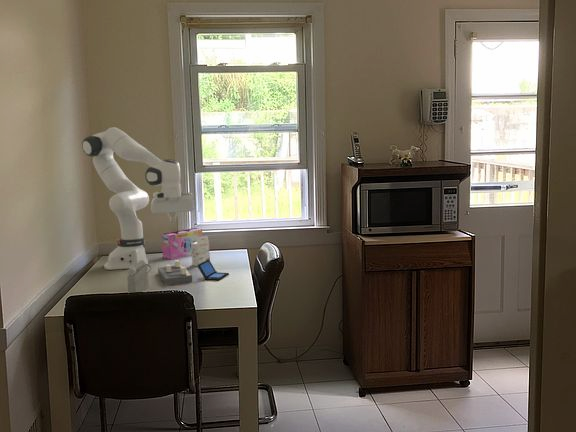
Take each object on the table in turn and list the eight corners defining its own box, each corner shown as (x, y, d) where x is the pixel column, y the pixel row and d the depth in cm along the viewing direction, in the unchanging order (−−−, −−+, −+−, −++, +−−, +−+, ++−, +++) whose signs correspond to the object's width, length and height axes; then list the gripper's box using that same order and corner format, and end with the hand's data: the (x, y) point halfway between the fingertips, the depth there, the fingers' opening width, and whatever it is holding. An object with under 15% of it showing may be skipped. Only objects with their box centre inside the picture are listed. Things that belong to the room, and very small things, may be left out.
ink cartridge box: (203, 262, 313) (202, 234, 311) (210, 263, 310) (208, 235, 308) (191, 265, 306) (190, 237, 304) (198, 266, 303) (196, 238, 301)
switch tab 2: (176, 267, 288) (175, 261, 288) (174, 266, 291) (174, 260, 290) (180, 267, 289) (179, 261, 288) (179, 265, 292) (178, 259, 291)
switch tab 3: (182, 274, 273) (181, 268, 273) (180, 273, 276) (180, 267, 276) (186, 274, 274) (185, 267, 273) (185, 272, 277) (184, 266, 276)
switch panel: (166, 285, 269) (165, 278, 268) (158, 273, 291) (157, 267, 290) (192, 281, 273) (191, 275, 272) (182, 270, 295) (182, 264, 295)
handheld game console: (218, 281, 273) (217, 266, 271) (197, 280, 276) (196, 265, 275) (229, 275, 284) (228, 259, 283) (209, 274, 288) (208, 259, 287)
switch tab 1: (167, 272, 279) (166, 266, 278) (166, 271, 282) (165, 264, 281) (171, 271, 279) (171, 265, 279) (170, 270, 282) (170, 264, 282)
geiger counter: (137, 258, 261) (119, 272, 237) (151, 258, 261) (135, 271, 237) (140, 289, 264) (122, 306, 239) (154, 288, 263) (138, 305, 239)
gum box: (198, 250, 344) (196, 227, 342) (206, 252, 338) (204, 228, 336) (162, 257, 327) (160, 233, 325) (170, 259, 322) (168, 235, 320)
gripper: (192, 191, 293) (192, 219, 296) (149, 193, 287) (151, 221, 289) (194, 192, 288) (195, 221, 290) (151, 194, 281) (152, 223, 283)
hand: (172, 221), depth 289 cm, fingers closed
